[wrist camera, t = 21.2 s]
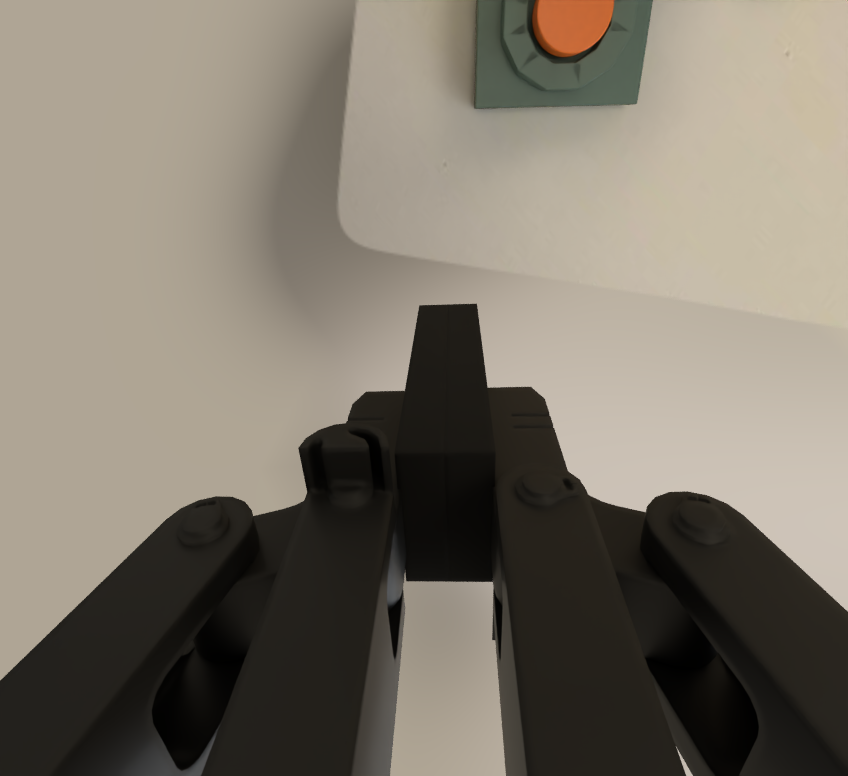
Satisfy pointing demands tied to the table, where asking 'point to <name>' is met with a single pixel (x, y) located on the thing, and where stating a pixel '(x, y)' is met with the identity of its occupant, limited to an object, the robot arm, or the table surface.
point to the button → (570, 24)
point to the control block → (556, 59)
